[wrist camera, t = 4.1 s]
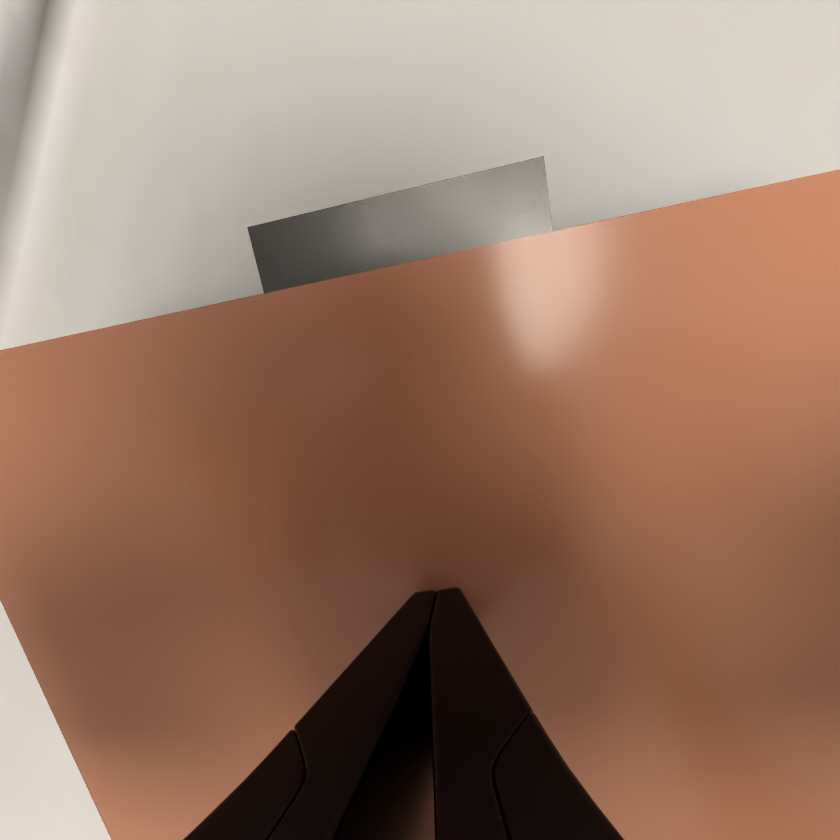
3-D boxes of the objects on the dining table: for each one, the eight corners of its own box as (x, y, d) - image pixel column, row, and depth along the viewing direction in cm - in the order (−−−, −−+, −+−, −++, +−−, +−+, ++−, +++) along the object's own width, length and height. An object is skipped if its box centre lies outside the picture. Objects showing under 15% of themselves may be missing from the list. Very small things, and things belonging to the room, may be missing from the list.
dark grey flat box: (779, 722, 15) (919, 913, 11) (275, 751, 18) (202, 913, 13) (763, 147, 12) (970, 35, 7) (129, 291, 14) (-46, 284, 9)
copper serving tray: (923, 919, 10) (979, 996, 9) (201, 917, 13) (175, 977, 12) (991, 145, 7) (1097, 114, 6) (-35, 363, 9) (-105, 373, 8)
